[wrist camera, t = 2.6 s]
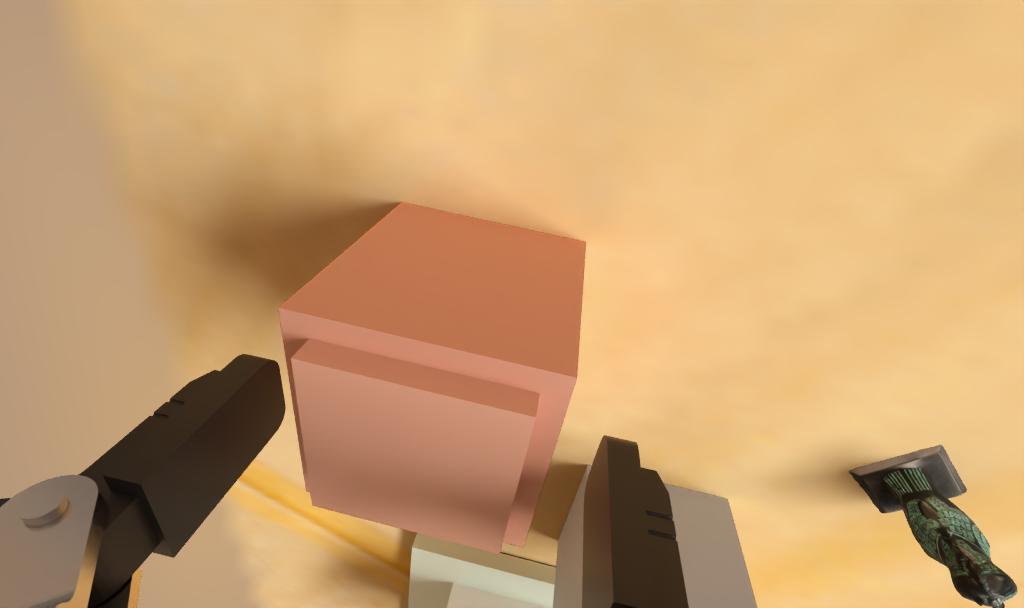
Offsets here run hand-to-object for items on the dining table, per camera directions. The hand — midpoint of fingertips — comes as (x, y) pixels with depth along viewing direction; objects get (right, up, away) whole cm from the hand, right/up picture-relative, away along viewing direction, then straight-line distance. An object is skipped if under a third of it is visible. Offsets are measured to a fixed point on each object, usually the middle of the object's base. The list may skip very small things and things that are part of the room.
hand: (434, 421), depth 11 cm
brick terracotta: (+1, +3, +4) cm, 5 cm away
